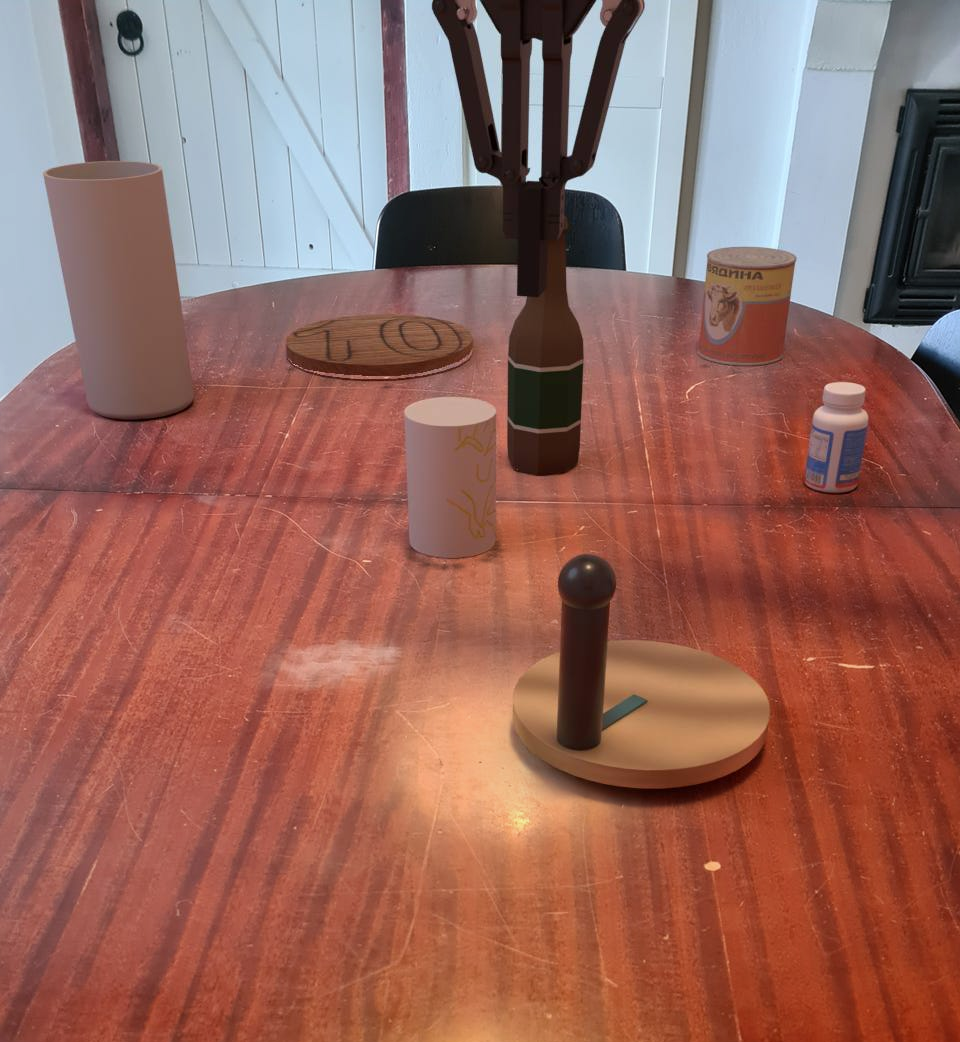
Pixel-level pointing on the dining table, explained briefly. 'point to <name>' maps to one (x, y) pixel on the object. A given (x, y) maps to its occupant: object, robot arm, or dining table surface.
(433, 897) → the dining table surface
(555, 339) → the beer bottle
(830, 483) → the pill bottle
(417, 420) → the white cylinder
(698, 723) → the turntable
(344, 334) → the trivet
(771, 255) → the canned food
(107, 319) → the cylinder vase
